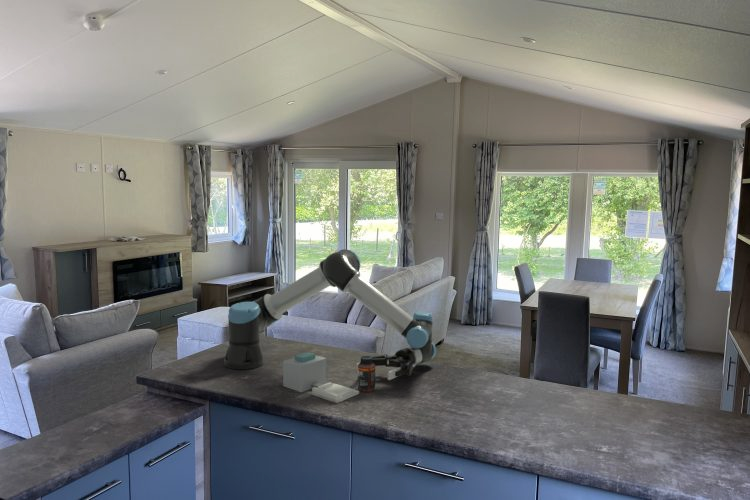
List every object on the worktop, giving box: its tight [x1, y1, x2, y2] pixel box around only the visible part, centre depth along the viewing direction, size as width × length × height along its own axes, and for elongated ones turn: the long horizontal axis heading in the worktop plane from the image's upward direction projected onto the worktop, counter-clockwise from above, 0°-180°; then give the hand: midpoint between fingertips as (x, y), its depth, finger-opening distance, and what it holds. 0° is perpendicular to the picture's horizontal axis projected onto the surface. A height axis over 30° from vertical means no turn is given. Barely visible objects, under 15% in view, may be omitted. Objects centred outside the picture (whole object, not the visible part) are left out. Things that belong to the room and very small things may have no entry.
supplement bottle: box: [357, 355, 376, 393], centre depth 183 cm, size 6×6×11 cm
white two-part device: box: [282, 351, 360, 404], centre depth 183 cm, size 28×12×11 cm, turn 52°
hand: (372, 371), depth 184 cm, fingers open, 13 cm apart
